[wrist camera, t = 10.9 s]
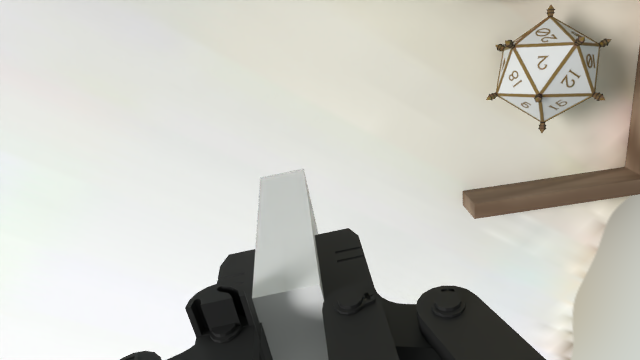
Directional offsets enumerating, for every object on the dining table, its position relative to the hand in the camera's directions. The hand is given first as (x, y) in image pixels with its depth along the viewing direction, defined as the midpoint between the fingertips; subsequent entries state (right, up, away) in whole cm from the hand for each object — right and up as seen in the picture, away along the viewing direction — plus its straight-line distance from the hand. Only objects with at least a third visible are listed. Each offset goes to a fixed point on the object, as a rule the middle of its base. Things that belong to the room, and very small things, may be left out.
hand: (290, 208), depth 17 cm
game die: (+21, +10, +25) cm, 34 cm away
